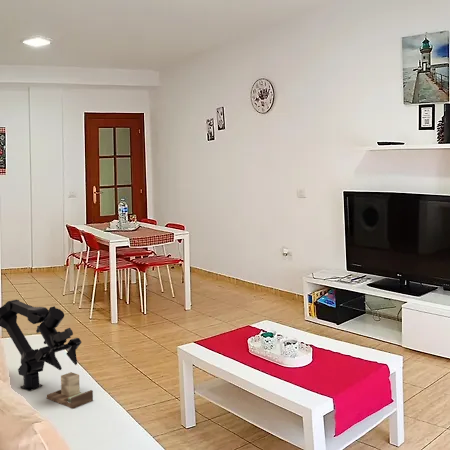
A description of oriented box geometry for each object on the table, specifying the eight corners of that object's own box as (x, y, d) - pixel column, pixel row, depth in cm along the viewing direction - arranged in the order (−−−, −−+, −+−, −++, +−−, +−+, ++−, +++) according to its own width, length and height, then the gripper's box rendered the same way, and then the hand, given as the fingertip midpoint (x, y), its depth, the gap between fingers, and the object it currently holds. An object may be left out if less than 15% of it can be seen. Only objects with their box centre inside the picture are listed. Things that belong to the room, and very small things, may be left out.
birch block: (61, 393, 230) (60, 375, 229) (71, 390, 234) (71, 372, 233) (69, 396, 227) (68, 378, 226) (79, 392, 231) (79, 374, 230)
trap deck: (46, 398, 229) (46, 388, 229) (66, 391, 237) (66, 381, 236) (73, 408, 219) (72, 398, 219) (92, 400, 227) (92, 390, 226)
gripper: (38, 328, 219) (57, 361, 214) (77, 317, 234) (96, 349, 228) (26, 344, 225) (45, 378, 219) (66, 333, 240) (84, 364, 234)
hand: (68, 366), depth 225 cm, fingers open, 7 cm apart
